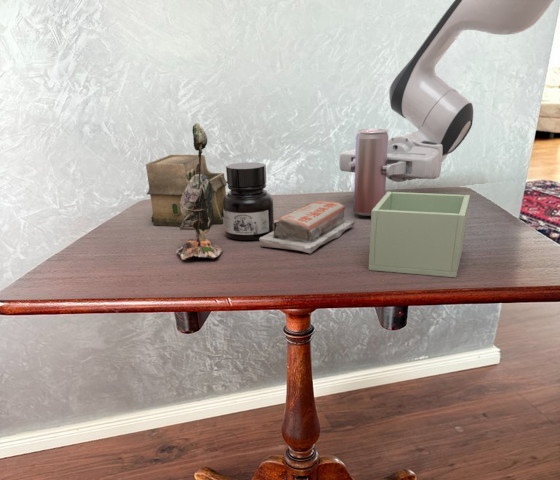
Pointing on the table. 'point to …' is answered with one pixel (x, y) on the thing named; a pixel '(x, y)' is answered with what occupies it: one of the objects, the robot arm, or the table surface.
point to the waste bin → (418, 233)
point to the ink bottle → (247, 202)
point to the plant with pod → (198, 207)
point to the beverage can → (369, 169)
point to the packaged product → (308, 227)
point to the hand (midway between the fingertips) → (368, 169)
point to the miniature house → (180, 188)
